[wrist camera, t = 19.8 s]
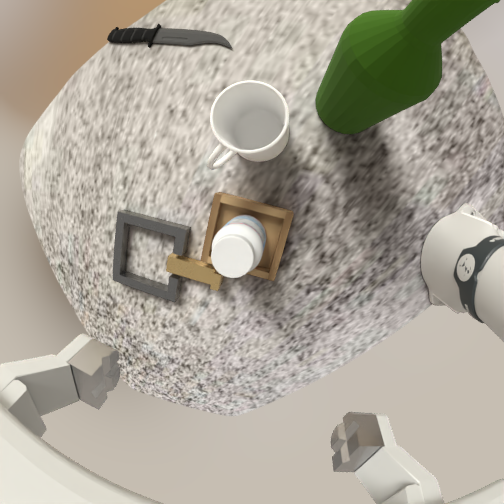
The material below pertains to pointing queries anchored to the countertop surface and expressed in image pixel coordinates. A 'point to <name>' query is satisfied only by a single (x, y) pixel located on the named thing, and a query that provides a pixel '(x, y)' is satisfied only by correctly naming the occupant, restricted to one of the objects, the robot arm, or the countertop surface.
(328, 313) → the countertop surface
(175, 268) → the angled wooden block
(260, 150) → the mug
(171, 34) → the knife
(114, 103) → the countertop surface
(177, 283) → the socket
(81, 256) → the countertop surface
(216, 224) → the tray
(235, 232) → the pill bottle
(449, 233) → the robot arm
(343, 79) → the wine bottle
